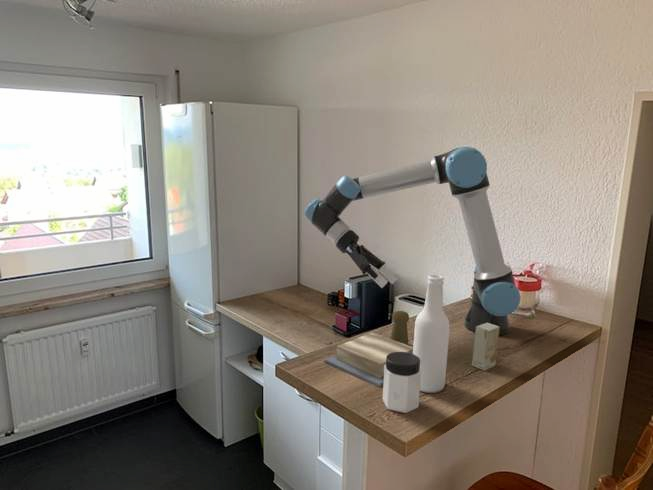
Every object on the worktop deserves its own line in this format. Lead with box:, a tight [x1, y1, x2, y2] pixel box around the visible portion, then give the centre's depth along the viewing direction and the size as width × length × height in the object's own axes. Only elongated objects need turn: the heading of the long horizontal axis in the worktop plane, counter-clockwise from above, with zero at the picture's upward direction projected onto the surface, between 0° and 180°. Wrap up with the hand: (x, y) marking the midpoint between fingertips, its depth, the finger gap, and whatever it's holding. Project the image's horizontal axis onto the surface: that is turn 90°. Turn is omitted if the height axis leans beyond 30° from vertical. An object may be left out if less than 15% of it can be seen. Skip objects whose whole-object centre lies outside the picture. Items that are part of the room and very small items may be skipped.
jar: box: [382, 352, 421, 414], centre depth 120 cm, size 9×8×12 cm
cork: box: [390, 310, 410, 346], centre depth 157 cm, size 6×6×11 cm
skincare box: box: [471, 323, 500, 371], centre depth 143 cm, size 6×4×12 cm
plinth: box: [323, 332, 413, 387], centre depth 144 cm, size 22×20×5 cm
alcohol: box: [412, 274, 451, 394], centre depth 128 cm, size 9×9×30 cm
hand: (390, 283), depth 155 cm, fingers open, 13 cm apart
